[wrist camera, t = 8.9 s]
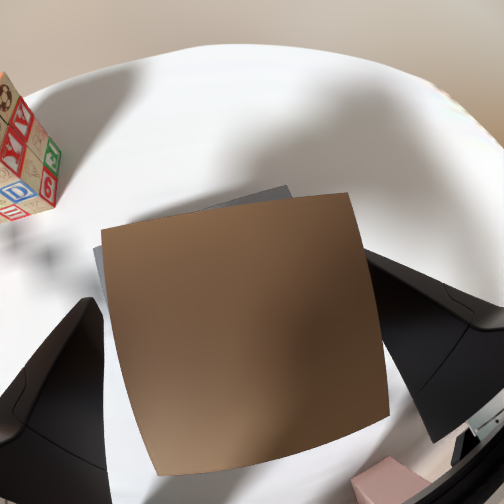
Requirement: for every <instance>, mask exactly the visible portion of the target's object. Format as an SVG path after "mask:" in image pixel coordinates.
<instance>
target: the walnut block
mask: <svg viewBox="0 0 504 504" xmlns="http://www.w3.org/2000/svg"><path fill="white" fill-rule="evenodd" d="M101 238H102V254H103V266H104V276H105V285H106V293H107V300H108V307H109V313H110V319H111V325H112V330H113V336H114V341H115V346H116V350H117V355H118V359H119V363H120V367H121V371H122V375H123V379H124V383H125V387H126V390H127V394H128V397H129V400H130V404H131V407H132V410H133V413H134V416H135V419H136V422H137V425H138V428H139V431H140V433H141V436H142V439H143V441H144V444H145V447H146V449H147V452H148V454H149V457H150V459H151V461H152V464H153V466H154V468H155V470H156V473H157V475H158V476H171V475H187V474H198V473H207V472H215V471H222V470H228V469H234V468H240V467H245V466H250V465H254V464H259V463H263V462H268V461H272V460H276V459H279V458H283V457H287V456H290V455H294V454H297V453H300V452H303V451H307V450H310V449H313V448H316V447H318V446H321V445H324V444H327V443H329V442H332V441H335V440H337V439H340V438H342V437H345V436H347V435H350V434H352V433H354V432H357V431H359V430H361V429H363V428H365V427H368V426H370V425H372V424H374V423H376V422H378V421H380V420H382V419H384V418H386V417H388V416H390V410H389V395H388V384H387V374H386V365H385V357H384V349H383V342H382V335H381V329H380V323H379V317H378V311H377V306H376V301H375V296H374V291H373V286H372V281H371V277H370V272H369V268H368V264H367V260H366V255H365V251H364V248H363V244H362V240H361V236H360V232H359V229H358V225H357V222H356V218H355V215H354V211H353V208H352V205H351V202H350V198H349V195H348V192H347V193H336V194H326V195H316V196H307V197H298V198H290V199H281V200H273V201H266V202H258V203H251V204H244V205H237V206H230V207H223V208H217V209H210V210H204V211H198V212H192V213H186V214H180V215H174V216H169V217H163V218H158V219H152V220H147V221H142V222H137V223H132V224H127V225H122V226H117V227H112V228H108V229H103V230H101Z"/></svg>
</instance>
